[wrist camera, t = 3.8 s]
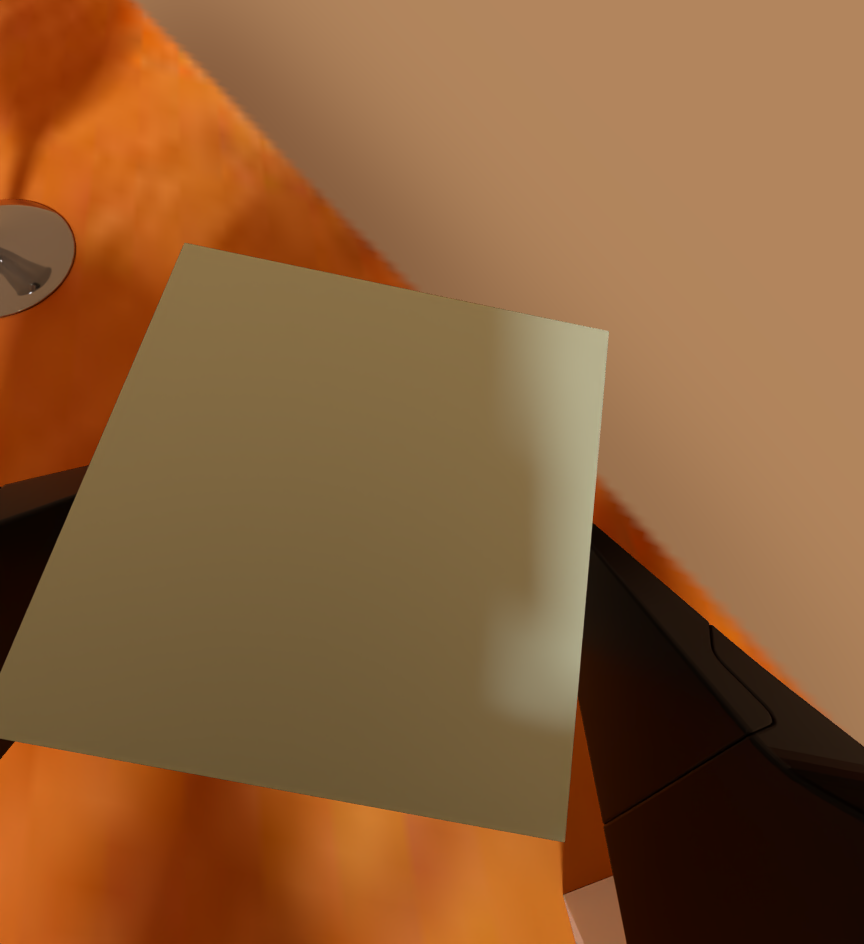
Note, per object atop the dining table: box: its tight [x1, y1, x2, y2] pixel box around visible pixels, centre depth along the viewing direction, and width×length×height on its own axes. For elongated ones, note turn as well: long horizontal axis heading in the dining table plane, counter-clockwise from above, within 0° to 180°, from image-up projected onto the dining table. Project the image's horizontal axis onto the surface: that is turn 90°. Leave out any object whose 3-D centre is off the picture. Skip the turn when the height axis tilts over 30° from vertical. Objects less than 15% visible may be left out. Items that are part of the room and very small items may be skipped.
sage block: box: [0, 243, 609, 842], centre depth 10 cm, size 5×5×12 cm
